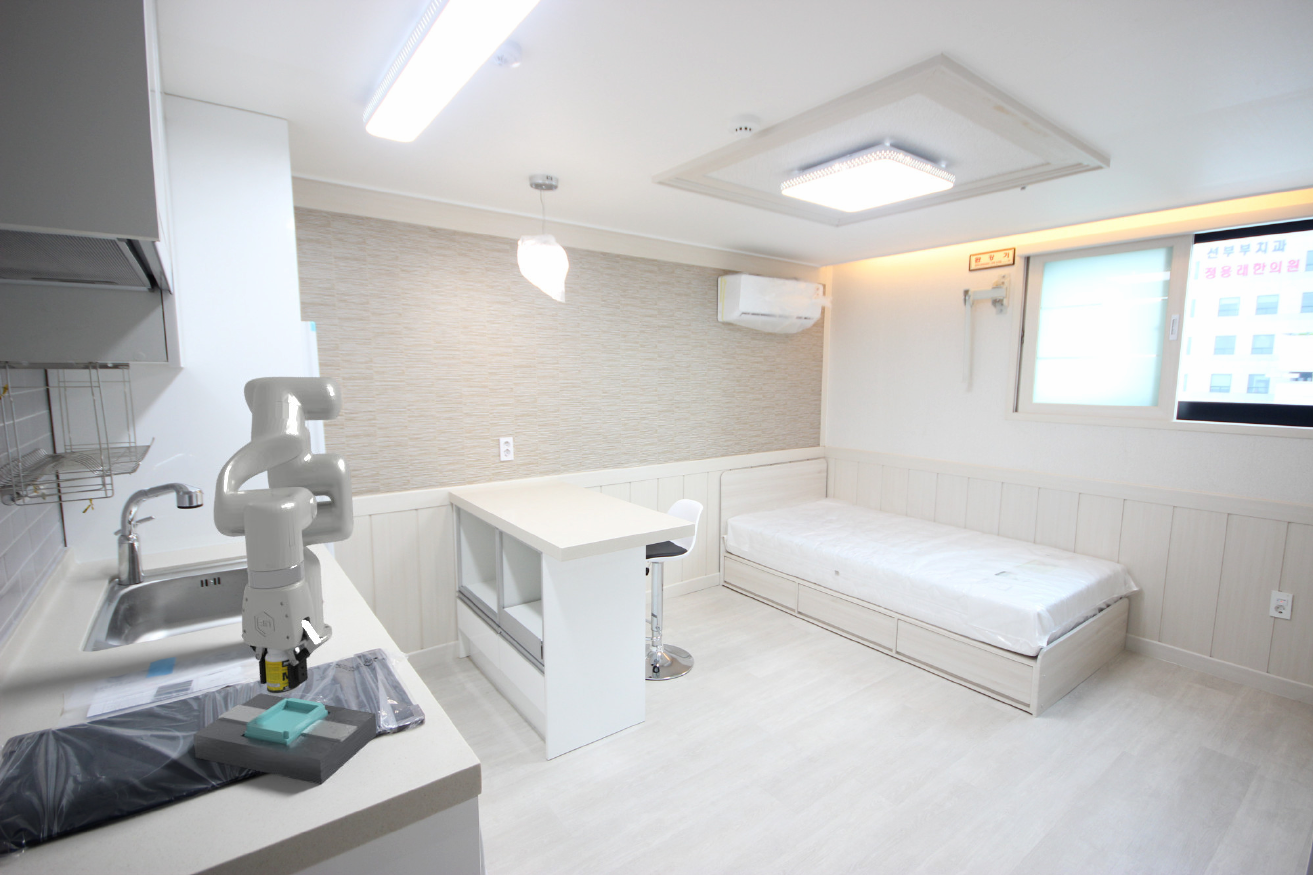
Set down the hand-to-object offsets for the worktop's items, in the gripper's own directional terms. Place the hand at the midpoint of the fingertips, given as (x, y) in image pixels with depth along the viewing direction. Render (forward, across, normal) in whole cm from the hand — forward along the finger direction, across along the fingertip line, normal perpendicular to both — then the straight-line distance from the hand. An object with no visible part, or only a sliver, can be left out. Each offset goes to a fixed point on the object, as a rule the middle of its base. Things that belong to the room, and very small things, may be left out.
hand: (284, 680), depth 95 cm
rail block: (+12, 0, 0) cm, 12 cm away
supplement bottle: (+2, 0, 0) cm, 2 cm away
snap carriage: (+9, 0, 0) cm, 9 cm away
